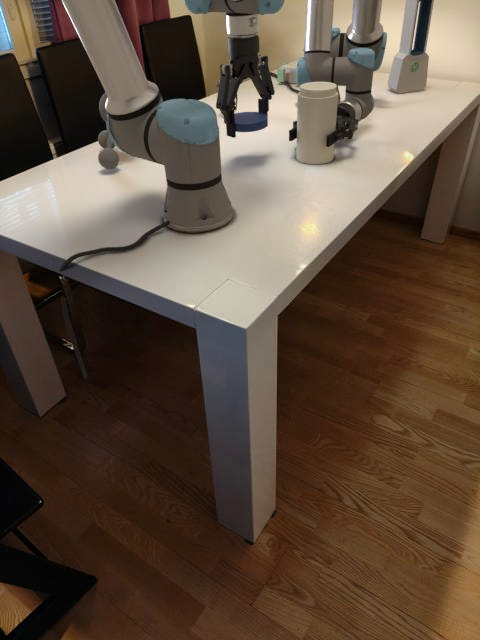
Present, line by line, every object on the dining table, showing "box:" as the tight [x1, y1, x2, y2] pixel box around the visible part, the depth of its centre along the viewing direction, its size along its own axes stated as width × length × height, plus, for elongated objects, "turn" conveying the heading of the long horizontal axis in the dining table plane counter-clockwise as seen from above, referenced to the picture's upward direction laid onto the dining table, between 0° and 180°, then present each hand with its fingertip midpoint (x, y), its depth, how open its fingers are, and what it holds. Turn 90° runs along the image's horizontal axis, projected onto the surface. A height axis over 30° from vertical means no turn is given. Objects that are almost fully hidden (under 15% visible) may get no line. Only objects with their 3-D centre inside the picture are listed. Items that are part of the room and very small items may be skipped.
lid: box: [234, 111, 269, 133], centre depth 127 cm, size 11×11×2 cm
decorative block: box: [276, 59, 299, 85], centre depth 205 cm, size 26×6×20 cm
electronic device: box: [387, 0, 435, 94], centre depth 176 cm, size 12×8×30 cm, turn 105°
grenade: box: [215, 82, 238, 115], centre depth 166 cm, size 7×6×10 cm
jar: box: [295, 82, 338, 165], centre depth 128 cm, size 10×10×18 cm
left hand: (247, 130), depth 129 cm, fingers closed on lid, 11 cm apart
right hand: (308, 138), depth 127 cm, fingers closed on jar, 10 cm apart
